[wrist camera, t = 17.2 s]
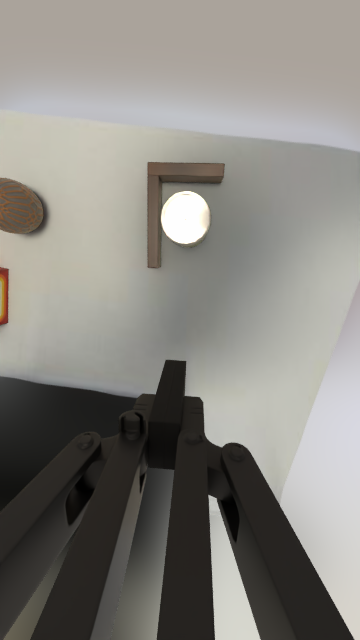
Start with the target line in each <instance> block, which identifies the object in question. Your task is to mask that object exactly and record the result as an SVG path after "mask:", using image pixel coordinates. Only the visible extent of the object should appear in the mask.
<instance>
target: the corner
mask: <svg viewBox="0 0 360 640" xmlns="http://www.w3.org/2000/svg"><path fill="white" fill-rule="evenodd" d="M224 165H225V164H216V163H160V162H148V268H159V267H161V210H162V182H200V183H221V182H222V179H223V176H224Z"/></svg>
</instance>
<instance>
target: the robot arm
mask: <svg viewBox="0 0 360 640" xmlns="http://www.w3.org/2000/svg"><path fill="white" fill-rule="evenodd" d="M185 377H186V361H177V360H166V361H165V365H164V368H163V371H162V375H161V378H160V382H159V385H158V389H157V392H156V395H155V394H142V395H140V396H139V397H138V398H137V400H136V403H135V405H134V408H133V410H132V411H127V412H125V413H123V414H121V415H120V417H119V418H118V421H119V434H118V435H116V436H114V437H109V438H103V439H101V437H100V436H99V434H97V433H96V432H84V433H82V434H79V435H78V436H76V437H75V438H74V439H73V440H72V441H71V442H70V443H69V444H68V445H67V446H66V447H65V448H64V449H63V450H62V451H61V452H60V453H59V454H58V455H57V456H56V457H55V458H54V459H53V460H52V461H51V462H50V463H49V464H48V465H47V466H46V467H45V468H44V469H43V470H42V471H41V472H40V473H39V474H38V475H37V476H36V477H35V478H34V479H33V480H32V481H31V482H30V483H29V484H28V485H27V486H26V487H25V488H24V489H23V490H22V491H21V492H20V493H19V494H18V495H17V496H16V497H15V498H14V499H13V500H12V501H11V502H10V503H9V504H8V505H7V506H6V507H5V508H4V509H3V510H2V511H1V512H0V640H3V639H4V637H5V636H6V634H7V633H8V631H9V630H10V628H11V627H12V625H13V624H14V622H15V621H16V619H17V618H18V616H19V615H20V613H21V612H22V610H23V609H24V607H25V606H26V604H27V603H28V601H29V600H30V598H31V597H32V595H33V593H34V592H35V591H36V589H37V587H38V586H39V584H40V583H41V581H42V580H43V578H44V577H45V575H46V574H47V572H48V571H49V569H50V568H51V566H52V565H53V563H54V562H55V560H56V559H57V557H58V556H59V554H60V553H61V551H62V550H63V548H64V547H65V545H66V544H67V542H68V541H69V539H70V538H71V536H72V534H73V533H74V531H75V530H76V528H77V527H78V525H79V524H80V525H79V527H78V530H77V532H76V534H75V537H74V539H73V541H72V544H71V546H70V548H69V551H68V553H67V555H66V558H65V560H64V562H63V565H62V567H61V569H60V572H59V574H58V576H57V579H56V581H55V583H54V586H53V588H52V590H51V593H50V595H49V597H48V600H47V602H46V604H45V607H44V609H43V611H42V614H41V616H40V618H39V621H38V623H37V625H36V628H35V630H34V633H33V635H32V637H31V639H30V640H110V639H111V634H112V629H113V625H114V620H115V616H116V611H117V607H118V602H119V598H120V593H121V588H122V584H123V580H124V575H125V571H126V566H127V562H128V557H129V553H130V548H131V544H132V539H133V535H134V530H135V525H136V521H137V517H138V512H139V508H140V503H141V499H142V494H143V490H144V485H145V481H146V468H147V464H148V467H150V468H162V469H172V470H175V471H174V480H173V490H172V499H171V509H170V518H169V528H168V538H167V547H166V556H165V566H164V575H163V585H162V594H161V604H160V613H159V623H158V633H157V640H215V633H214V609H213V588H212V565H211V543H210V522H209V521H210V520H209V498H208V495H210V496H213V497H215V498H217V502H218V506H219V509H220V512H221V515H222V518H223V521H224V525H225V527H226V531H227V534H228V537H229V540H230V544H231V546H232V550H233V553H234V556H235V559H236V563H237V566H238V569H239V572H240V575H241V579H242V582H243V585H244V588H245V591H246V594H247V598H248V600H249V604H250V607H251V610H252V613H253V617H254V620H255V623H256V626H257V629H258V632H259V635H260V639H261V640H354V639H353V636H352V635H351V633H350V631H349V629H348V628H347V626H346V624H345V622H344V620H343V619H342V617H341V615H340V613H339V611H338V609H337V608H336V606H335V604H334V602H333V601H332V599H331V597H330V595H329V593H328V591H327V590H326V588H325V586H324V584H323V583H322V581H321V579H320V577H319V575H318V574H317V572H316V570H315V568H314V566H313V565H312V563H311V561H310V559H309V557H308V556H307V554H306V552H305V550H304V548H303V547H302V545H301V543H300V541H299V539H298V538H297V536H296V534H295V532H294V530H293V528H292V527H291V525H290V523H289V521H288V519H287V518H286V516H285V514H284V512H283V511H282V509H281V507H280V505H279V503H278V501H277V500H276V498H275V496H274V494H273V492H272V491H271V489H270V487H269V485H268V483H267V482H266V480H265V478H264V476H263V474H262V473H261V471H260V469H259V467H258V465H257V464H256V462H255V460H254V458H253V456H252V455H251V453H250V451H249V450H248V449H247V448H246V447H244V446H243V445H241V444H238V443H228V444H226V445H224V446H223V447H219V446H216V445H214V444H212V443H211V442H210V441H209V440H208V439H207V438H206V436H205V433H204V410H203V402H202V400H201V399H200V397H191V396H185Z"/></svg>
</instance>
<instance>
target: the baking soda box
mask: <svg viewBox="0 0 360 640" xmlns="http://www.w3.org/2000/svg"><path fill="white" fill-rule="evenodd" d="M5 323H8V269H5V268H1V267H0V325H2V324H5Z"/></svg>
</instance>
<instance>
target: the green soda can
mask: <svg viewBox="0 0 360 640" xmlns="http://www.w3.org/2000/svg"><path fill="white" fill-rule="evenodd" d="M161 225H162V229H163V231H164V233H165V235H166V236H167V238H169V239H170V240H171V241H172V242H173V243H175V244H178V245H180V246H183V247H186V248H191V247H195V246H197V245H198V244H200V243H201V242H202V241H203V240H204V238H205V236H206V235H207V233H208V230H209V227H210V225H211V212H210V208H209V206H208V204H207V203H206V201H205V200H204V199H203V198H202V197H201V196H200V195H199V194H196V193H194V192H191V191H182V192H179V193H176V194H174V195H173V196H172V197H170V198H169V199H168V200H167V202H166V203H165V205H164V206H163V209H162V212H161Z"/></svg>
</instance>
